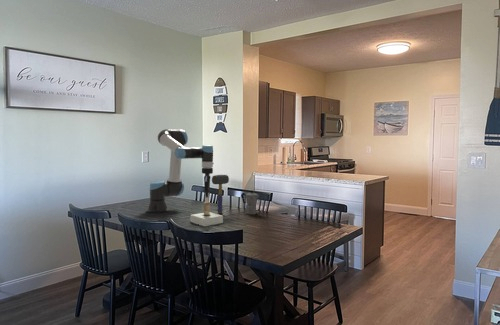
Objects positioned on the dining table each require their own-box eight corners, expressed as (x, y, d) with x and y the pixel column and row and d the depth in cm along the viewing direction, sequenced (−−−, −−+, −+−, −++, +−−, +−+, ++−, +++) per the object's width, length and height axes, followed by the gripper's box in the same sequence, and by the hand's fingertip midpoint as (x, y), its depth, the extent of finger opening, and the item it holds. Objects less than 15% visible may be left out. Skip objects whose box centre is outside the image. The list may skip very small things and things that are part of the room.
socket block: (190, 221, 257) (190, 214, 256) (208, 218, 268) (209, 211, 267) (204, 226, 245) (204, 218, 245) (222, 222, 256) (223, 215, 256)
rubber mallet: (215, 214, 282) (216, 175, 280) (210, 213, 288) (211, 174, 285) (229, 212, 290) (229, 174, 287) (223, 211, 295) (224, 173, 293)
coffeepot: (261, 213, 291) (261, 190, 290) (256, 215, 283) (256, 192, 281) (243, 211, 298) (244, 188, 296) (238, 213, 289) (238, 190, 288)
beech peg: (202, 222, 256) (202, 202, 255) (207, 221, 259) (207, 201, 258) (206, 223, 253) (206, 203, 252) (211, 222, 256) (211, 202, 255)
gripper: (211, 168, 247) (211, 203, 249) (214, 167, 260) (213, 200, 262) (200, 168, 247) (200, 203, 249) (203, 166, 260) (203, 199, 262)
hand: (206, 201), depth 255 cm, fingers closed
